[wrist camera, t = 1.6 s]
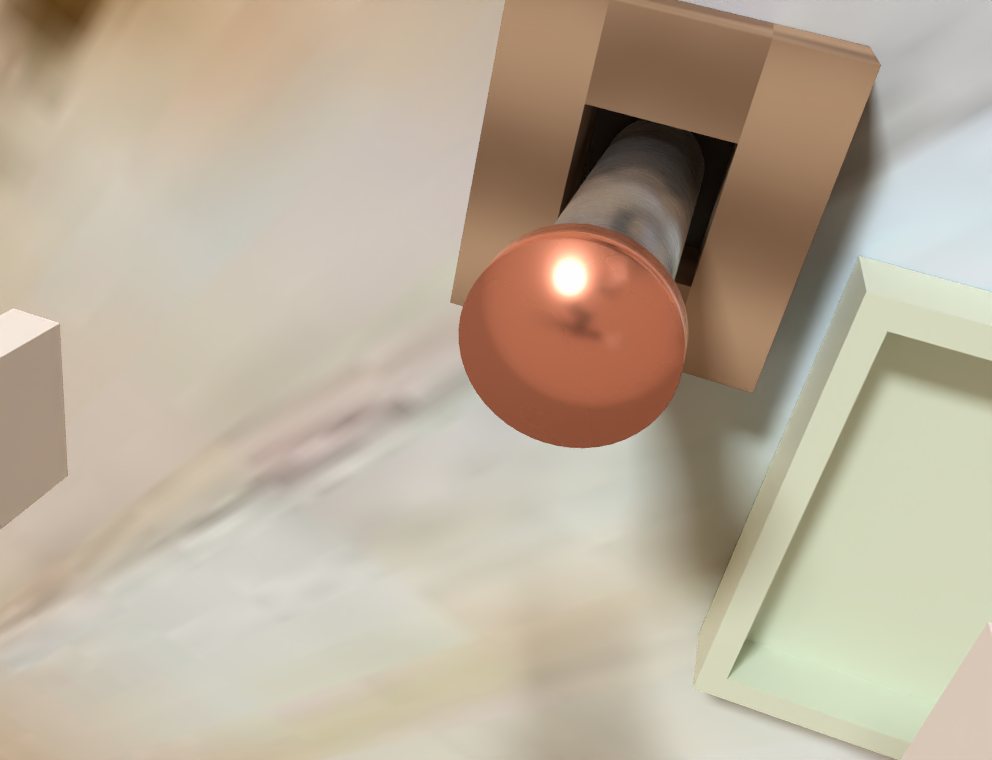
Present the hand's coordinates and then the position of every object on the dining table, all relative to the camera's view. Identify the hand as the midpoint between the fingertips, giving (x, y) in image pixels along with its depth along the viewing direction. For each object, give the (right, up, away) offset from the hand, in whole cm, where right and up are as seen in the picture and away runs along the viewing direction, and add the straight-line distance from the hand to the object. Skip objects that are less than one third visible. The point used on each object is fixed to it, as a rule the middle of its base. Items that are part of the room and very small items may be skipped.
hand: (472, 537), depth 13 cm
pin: (+5, +9, +17) cm, 20 cm away
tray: (+16, -3, +20) cm, 26 cm away
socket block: (+5, +9, +17) cm, 20 cm away
